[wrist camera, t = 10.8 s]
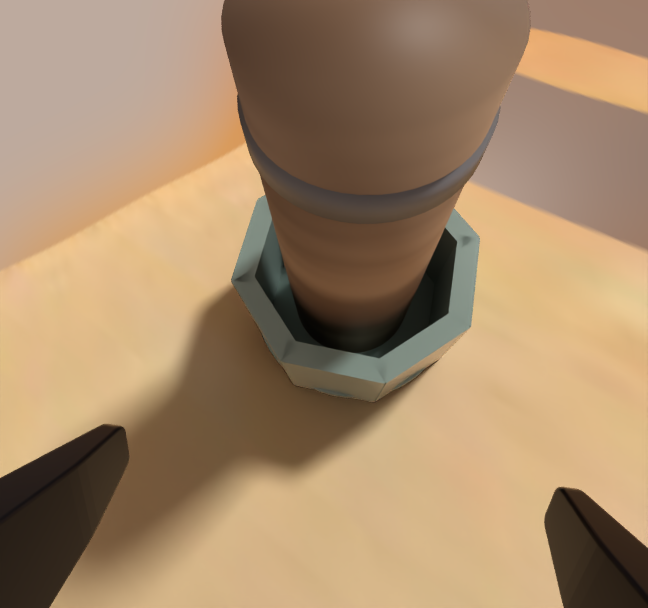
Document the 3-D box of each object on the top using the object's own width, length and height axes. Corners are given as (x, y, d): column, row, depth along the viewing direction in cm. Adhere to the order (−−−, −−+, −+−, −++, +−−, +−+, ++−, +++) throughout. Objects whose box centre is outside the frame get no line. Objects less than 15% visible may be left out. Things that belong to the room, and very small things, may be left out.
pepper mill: (426, 334, 18) (600, 80, 6) (312, 370, 18) (258, 174, 6) (385, 235, 20) (456, -113, 8) (280, 266, 20) (188, -51, 8)
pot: (435, 418, 18) (466, 404, 13) (235, 374, 19) (205, 348, 14) (457, 238, 21) (488, 180, 16) (284, 208, 22) (272, 146, 17)
